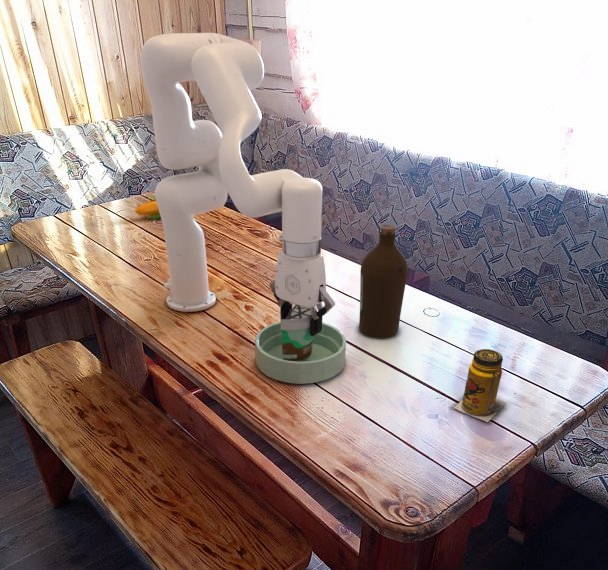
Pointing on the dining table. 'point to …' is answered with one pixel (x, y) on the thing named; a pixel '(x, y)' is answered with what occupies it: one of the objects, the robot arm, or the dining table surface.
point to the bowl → (313, 369)
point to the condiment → (482, 386)
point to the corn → (149, 209)
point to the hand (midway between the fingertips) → (300, 327)
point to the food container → (296, 334)
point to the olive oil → (382, 287)
